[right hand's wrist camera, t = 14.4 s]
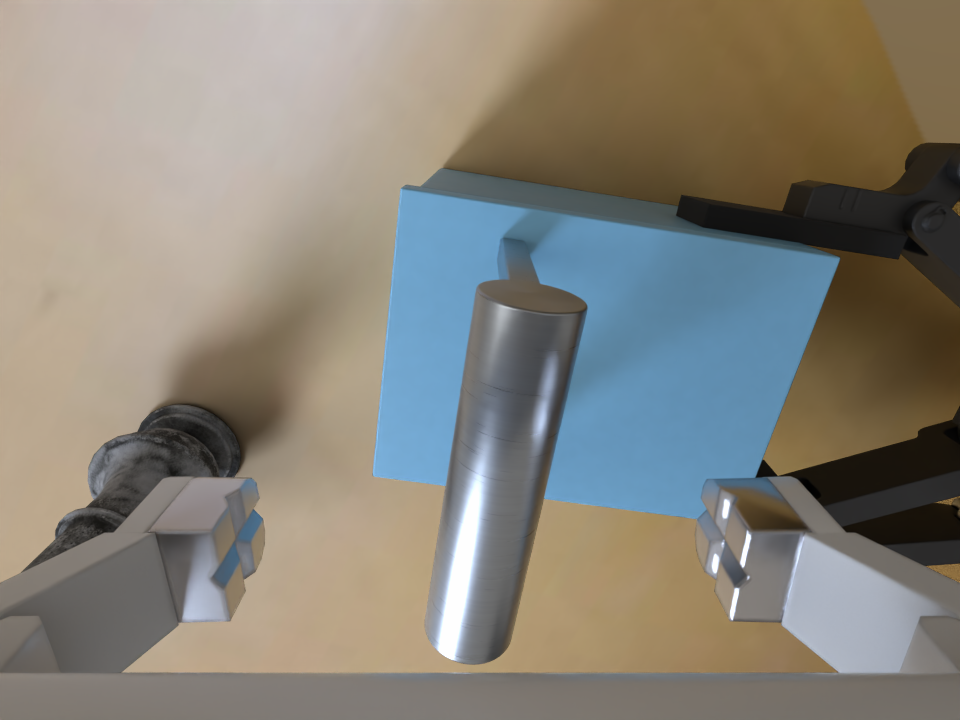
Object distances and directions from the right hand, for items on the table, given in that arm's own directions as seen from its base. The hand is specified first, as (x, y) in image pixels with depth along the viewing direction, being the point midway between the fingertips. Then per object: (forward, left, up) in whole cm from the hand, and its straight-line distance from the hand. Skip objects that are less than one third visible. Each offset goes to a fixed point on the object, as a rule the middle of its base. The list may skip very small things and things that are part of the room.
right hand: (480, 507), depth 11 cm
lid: (+3, -1, -8) cm, 9 cm away
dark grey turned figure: (-17, -6, -17) cm, 25 cm away
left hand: (+6, -2, -11) cm, 13 cm away
